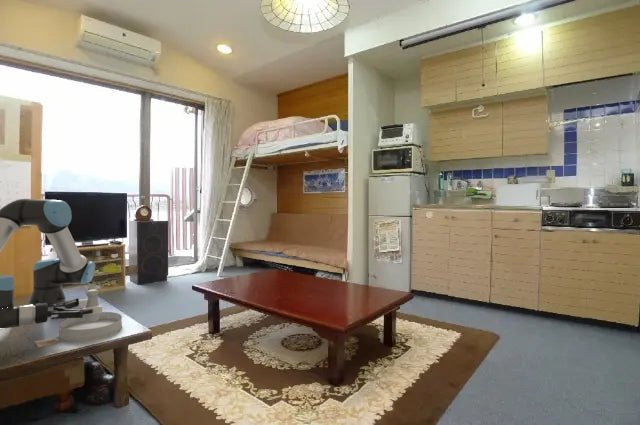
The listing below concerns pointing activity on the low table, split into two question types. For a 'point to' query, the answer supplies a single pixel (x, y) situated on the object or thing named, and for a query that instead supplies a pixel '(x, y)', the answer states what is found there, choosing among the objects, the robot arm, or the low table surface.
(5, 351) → the low table surface
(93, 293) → the salt shaker
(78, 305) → the robot arm
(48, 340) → the cork coaster
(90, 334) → the dish
